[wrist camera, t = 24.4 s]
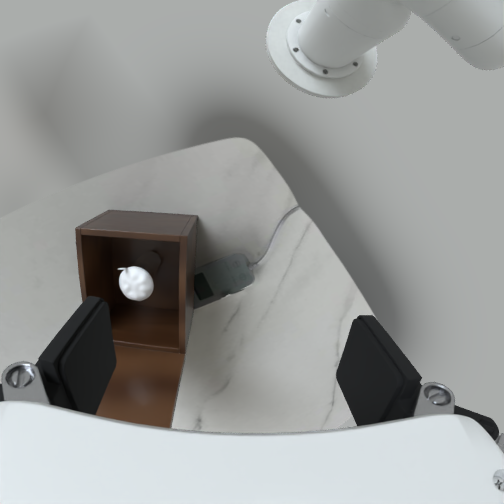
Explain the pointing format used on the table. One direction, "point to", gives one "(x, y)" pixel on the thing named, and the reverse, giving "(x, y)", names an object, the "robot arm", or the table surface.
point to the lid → (143, 387)
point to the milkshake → (140, 276)
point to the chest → (166, 285)
